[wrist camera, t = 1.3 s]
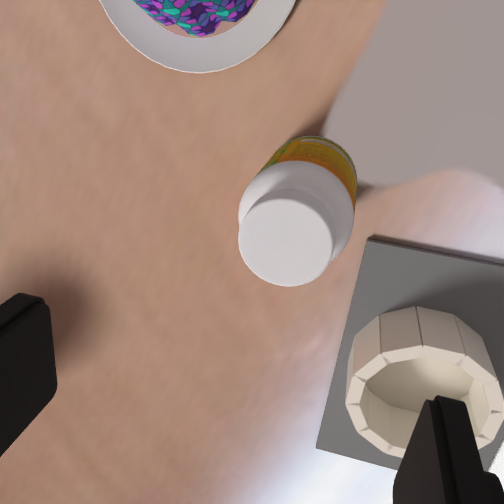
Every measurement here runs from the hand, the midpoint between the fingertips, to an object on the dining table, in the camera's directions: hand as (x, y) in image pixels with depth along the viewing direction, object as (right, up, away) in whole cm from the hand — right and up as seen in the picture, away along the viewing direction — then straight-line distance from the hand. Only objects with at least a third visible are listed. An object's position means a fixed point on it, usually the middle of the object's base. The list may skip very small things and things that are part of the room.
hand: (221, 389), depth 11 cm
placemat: (+13, -5, +20) cm, 24 cm away
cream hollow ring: (+12, -4, +19) cm, 23 cm away
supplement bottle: (+4, +8, +16) cm, 18 cm away
